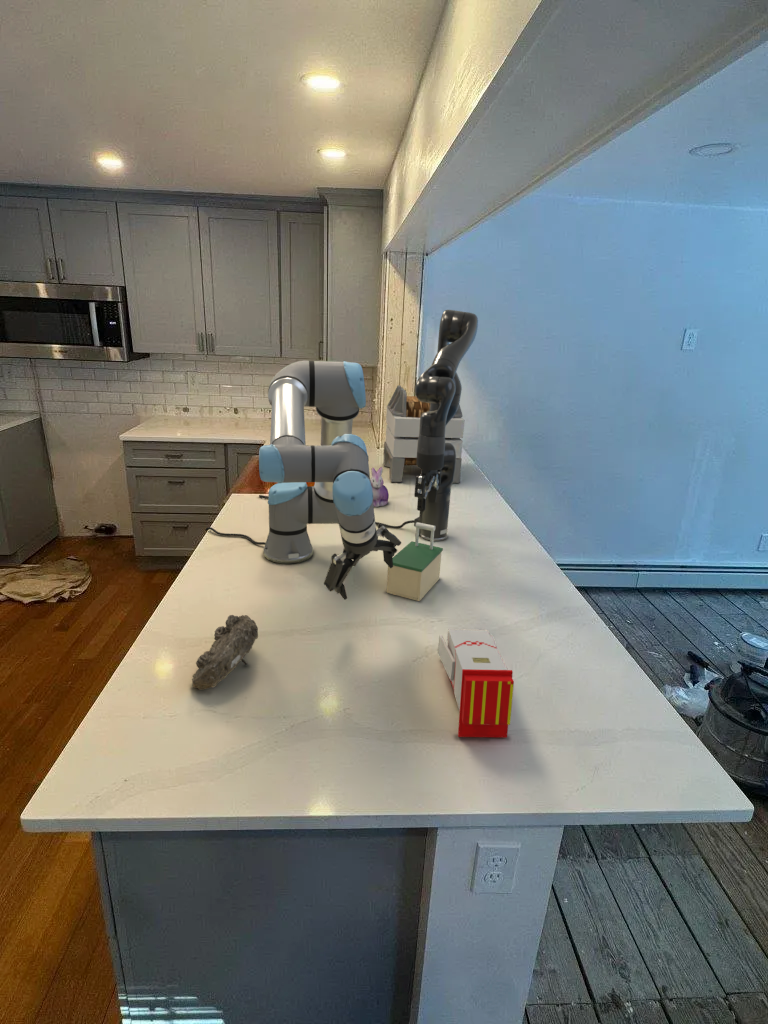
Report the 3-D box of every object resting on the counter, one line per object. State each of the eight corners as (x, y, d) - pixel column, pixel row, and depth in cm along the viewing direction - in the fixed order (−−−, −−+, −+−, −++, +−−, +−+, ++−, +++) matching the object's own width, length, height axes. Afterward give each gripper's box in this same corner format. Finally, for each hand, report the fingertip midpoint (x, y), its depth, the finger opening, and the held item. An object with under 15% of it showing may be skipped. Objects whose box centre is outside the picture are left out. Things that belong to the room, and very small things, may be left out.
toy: (488, 613, 130) (523, 677, 101) (484, 667, 133) (517, 744, 104) (435, 612, 130) (455, 676, 101) (432, 666, 133) (451, 743, 103)
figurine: (373, 508, 223) (374, 472, 218) (362, 500, 232) (363, 465, 226) (394, 505, 227) (396, 469, 222) (382, 498, 236) (384, 463, 231)
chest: (408, 571, 172) (410, 545, 169) (439, 578, 168) (441, 552, 165) (386, 592, 158) (387, 564, 155) (419, 601, 154) (421, 572, 151)
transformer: (382, 463, 289) (386, 382, 275) (445, 464, 293) (451, 384, 279) (390, 482, 257) (394, 392, 243) (460, 483, 261) (468, 394, 247)
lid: (411, 543, 170) (413, 518, 167) (442, 550, 166) (444, 524, 163) (387, 564, 155) (389, 536, 153) (421, 572, 151) (423, 544, 149)
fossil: (211, 617, 133) (257, 588, 128) (239, 645, 136) (285, 617, 131) (171, 683, 114) (223, 651, 109) (205, 714, 117) (257, 684, 112)
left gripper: (318, 575, 113) (331, 620, 130) (415, 510, 121) (416, 561, 138) (298, 550, 116) (314, 597, 134) (394, 489, 124) (397, 541, 142)
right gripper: (434, 458, 148) (430, 516, 153) (452, 447, 160) (447, 501, 165) (408, 453, 151) (404, 511, 156) (427, 443, 163) (423, 497, 168)
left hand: (365, 579), depth 136 cm, fingers open, 13 cm apart
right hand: (426, 506), depth 161 cm, fingers open, 8 cm apart
